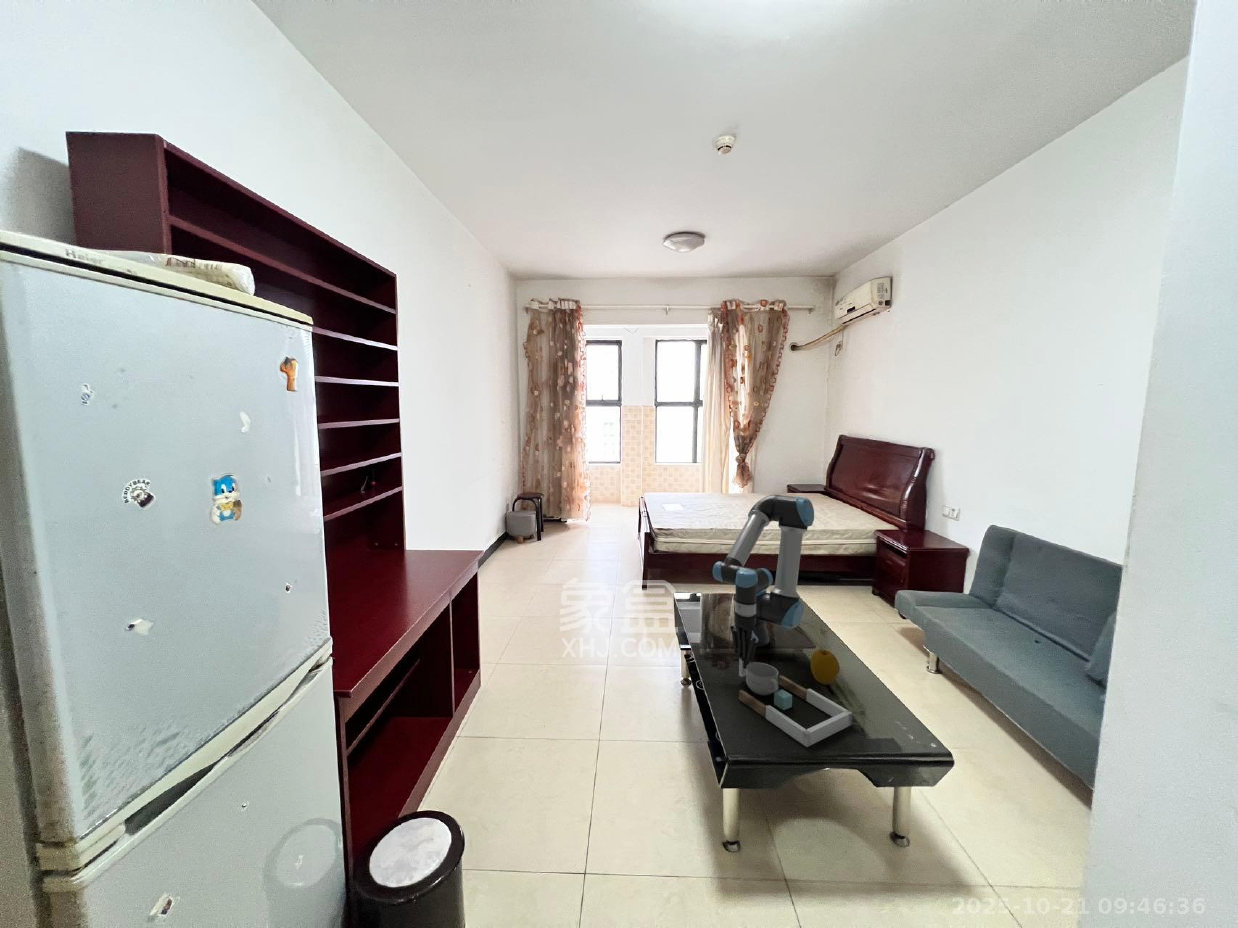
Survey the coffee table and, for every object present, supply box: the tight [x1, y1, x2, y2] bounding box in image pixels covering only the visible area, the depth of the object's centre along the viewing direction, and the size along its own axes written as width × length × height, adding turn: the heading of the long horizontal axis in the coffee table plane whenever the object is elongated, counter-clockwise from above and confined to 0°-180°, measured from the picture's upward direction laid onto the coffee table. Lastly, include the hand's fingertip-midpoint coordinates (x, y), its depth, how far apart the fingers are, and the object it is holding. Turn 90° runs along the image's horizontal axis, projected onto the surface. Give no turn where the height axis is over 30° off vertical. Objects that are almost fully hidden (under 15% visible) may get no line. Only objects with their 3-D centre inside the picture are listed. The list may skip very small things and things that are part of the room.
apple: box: [810, 648, 841, 685], centre depth 170 cm, size 10×10×12 cm
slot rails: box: [738, 674, 807, 719], centre depth 158 cm, size 12×21×3 cm, turn 120°
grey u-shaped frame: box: [765, 688, 853, 748], centre depth 147 cm, size 16×21×4 cm
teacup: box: [745, 661, 779, 696], centre depth 162 cm, size 14×11×8 cm
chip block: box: [773, 689, 793, 711], centre depth 155 cm, size 4×4×4 cm
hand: (742, 675), depth 171 cm, fingers closed
